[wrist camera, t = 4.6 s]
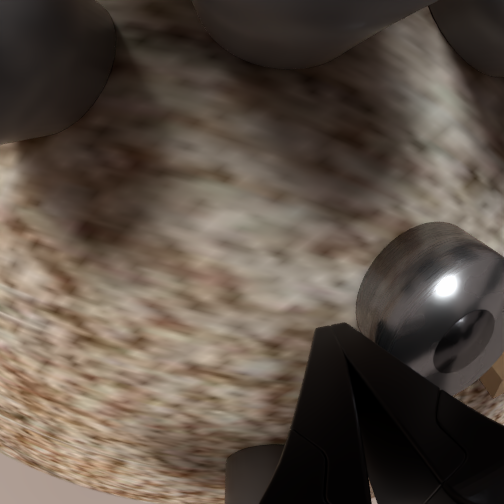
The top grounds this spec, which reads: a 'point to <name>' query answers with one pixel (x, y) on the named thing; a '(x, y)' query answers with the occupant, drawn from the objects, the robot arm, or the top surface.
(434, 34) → the top surface
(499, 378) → the corral
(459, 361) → the grey metallic short cylinder
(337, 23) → the spacers
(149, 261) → the top surface
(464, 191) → the top surface
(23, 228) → the top surface
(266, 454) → the spacers
